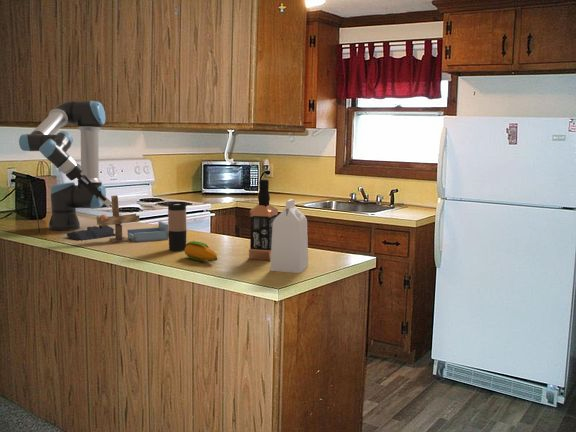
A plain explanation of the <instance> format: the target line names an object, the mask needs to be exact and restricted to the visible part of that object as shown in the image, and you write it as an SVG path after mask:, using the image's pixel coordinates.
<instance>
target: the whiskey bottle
mask: <svg viewBox="0 0 576 432" xmlns="http://www.w3.org/2000/svg"><path fill="white" fill-rule="evenodd" d="M269 181H270V180H269V179H266V178H265V179H264V178H263V179H259V187H258V188H259V191H258V196H257V199H258V204H257V205H256V206H254V207H253V208H251V209H250V210H249V216H250V239H249V240H250V242H249V243H250V245H249V246H250V247H249V249H248V259H249V260H252V261H253V260H256V261H270V262H271V244H272V227H273V221H274V219H275V218H276V217H277V216H278V215H279V214H278V211H279V209H278V208H277V207H274V206H273V205H271V204H270V199H271V197H270V191H269V188H270V187H269V184H270V182H269Z"/></svg>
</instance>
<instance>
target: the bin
mask: <svg viewBox="0 0 576 432" xmlns="http://www.w3.org/2000/svg"><path fill="white" fill-rule="evenodd" d="M127 239H128V240H130V241H132V242H134V243H142V242H154V241H166V240H168V241H169V233H168V224H167V223H165V222H164V221H161V220H159V221H158V227H157V226H156V227H147V228H133V229H132V228H131V229H127Z"/></svg>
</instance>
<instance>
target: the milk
mask: <svg viewBox="0 0 576 432" xmlns="http://www.w3.org/2000/svg"><path fill="white" fill-rule="evenodd" d="M308 236H309V235H308V219H307V217H306V216H305V214H304V213H303V212H302V211H301V210H300V209H299V208H298V207H297V206H296V203H295V199H294V198H290V199H288V200H286V201H285V209H283V211H281V212H280V213H279V214H277V217H276V218H275V219H274V221H273V227H272V244H271V261H270V265H269V271H270V272H272V271H273V272H282V273H293V274H295V273H296V274H301V273H302V272H303V271H305V269H307V268H308V267H309V254H308V253H309V243H308V242H309V241H308Z"/></svg>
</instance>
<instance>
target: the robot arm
mask: <svg viewBox="0 0 576 432" xmlns="http://www.w3.org/2000/svg"><path fill="white" fill-rule="evenodd" d="M105 124H106V111H105V108H104V106H103V104H102V103H101V102H100V101H95V100H69V101H65V102H62V103H60V104H58V105H56V106H54V107H53V108H52V109H51V110H50V111H49V113H48V116H47V117H46V118H45V119H44V120H43V121H42V122H41V123H40V124H39V125H38V126H37V127H36V128H35V129H34V130H33V131H32V132H31V133H23V134H21V135H19V139H18V143H19V145H18V146H19V148H20V149H21V150H22V151H24V152H40V154H42V156H43V158H46V160H48V161H49V162H50V163H51V164H52V165H54V167H55V168H57V169H58V172H59V173H60V172H61V173H63V175H65V177H66V178H67V179H68V180H70V181H73V182H64V183H62V182H61V183H57V184H53V185H51V187H50V194H49V195H50V205H51V215H50V218H49V221H48V229H49V230H50V229H51V230H52V231H71V230H70V229H73V230H78V229H81V223H80V220H79V218H78V215H77V211H76V210H77V209H92V210H94V209H101V207H103V205H104V206H106V208H107V207H108V208H109V207H110V206H112V200H110V199H109V198H108V197H106V196H107V190H106V185H105V186H104V185H103V184H102V183H103V182H102V180H100V176H99V170H100V169H99V131H101V130H102V126H103V125H105ZM66 125H77V127H76V128H77V129H78V130H79V131H80V164H79V163H77V161H76V160H75V159H74V158H73V157H72V156H71V155H70V154H68V152H67V151H68V150H69V149H70V148H71V146H72V144H73V142H74V138H73V135H72V134H71V133H70V132H68V131H65V130H62V131H61V130H60V129H61V128H63V127H65V126H66ZM59 130H60V131H59ZM58 131H59V132H58ZM57 132H58V133H57ZM75 179H77V185H76V184H75V182H74V180H75ZM77 228H78V229H77Z"/></svg>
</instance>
